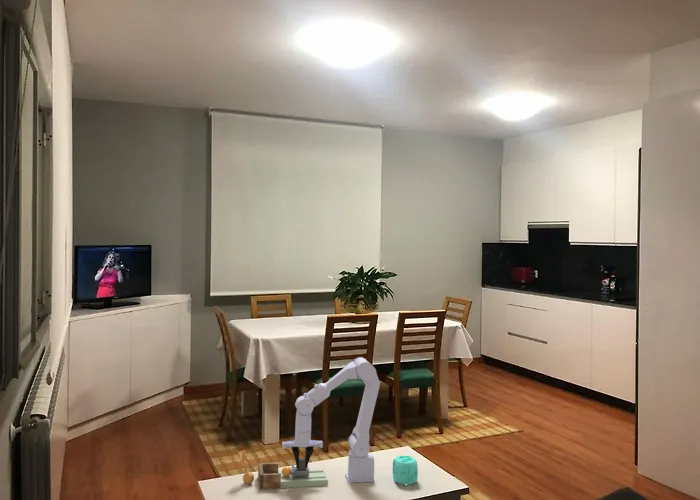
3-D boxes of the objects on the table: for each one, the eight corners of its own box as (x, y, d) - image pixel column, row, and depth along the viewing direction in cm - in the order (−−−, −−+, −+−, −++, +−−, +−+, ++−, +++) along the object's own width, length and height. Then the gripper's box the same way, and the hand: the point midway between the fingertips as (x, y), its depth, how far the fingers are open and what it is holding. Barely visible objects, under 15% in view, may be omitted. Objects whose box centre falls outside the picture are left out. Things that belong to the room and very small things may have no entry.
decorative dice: (395, 485, 213) (396, 463, 213) (392, 476, 221) (392, 455, 221) (417, 485, 214) (418, 463, 213) (413, 476, 221) (413, 455, 221)
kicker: (307, 470, 217) (307, 455, 217) (309, 477, 210) (310, 462, 210) (291, 470, 216) (291, 455, 216) (293, 478, 209) (294, 463, 209)
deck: (323, 474, 220) (323, 468, 220) (327, 485, 210) (328, 479, 210) (277, 476, 217) (278, 470, 217) (280, 487, 207) (280, 481, 207)
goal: (277, 475, 217) (278, 462, 217) (280, 488, 206) (280, 474, 206) (258, 476, 216) (258, 463, 216) (259, 489, 205) (260, 475, 205)
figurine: (253, 488, 205) (254, 454, 205) (235, 488, 205) (236, 454, 205) (254, 478, 214) (255, 446, 214) (237, 479, 213) (238, 446, 213)
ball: (289, 463, 214) (280, 466, 213) (290, 467, 211) (281, 470, 210) (291, 472, 214) (282, 475, 214) (292, 476, 211) (283, 479, 210)
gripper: (321, 426, 219) (319, 462, 219) (282, 427, 216) (280, 463, 216) (324, 432, 212) (322, 469, 212) (283, 433, 209) (282, 471, 209)
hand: (301, 467), depth 213 cm, fingers closed on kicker, 2 cm apart
